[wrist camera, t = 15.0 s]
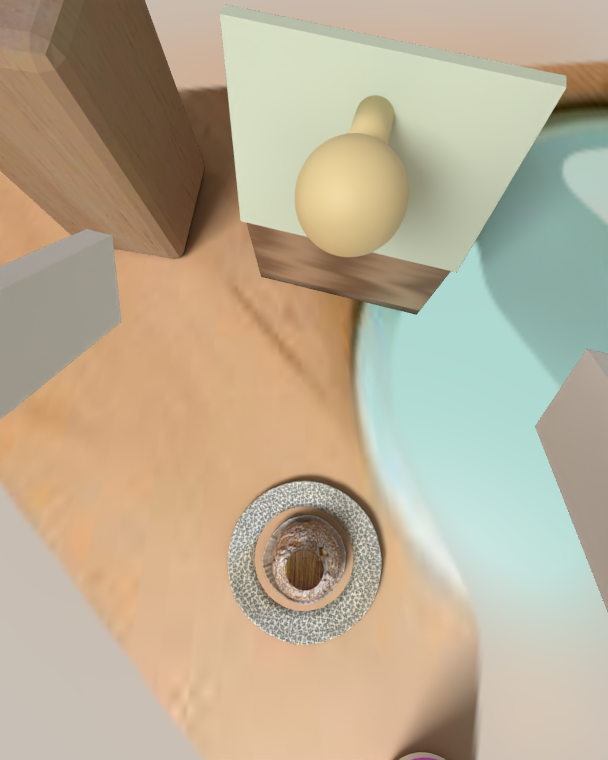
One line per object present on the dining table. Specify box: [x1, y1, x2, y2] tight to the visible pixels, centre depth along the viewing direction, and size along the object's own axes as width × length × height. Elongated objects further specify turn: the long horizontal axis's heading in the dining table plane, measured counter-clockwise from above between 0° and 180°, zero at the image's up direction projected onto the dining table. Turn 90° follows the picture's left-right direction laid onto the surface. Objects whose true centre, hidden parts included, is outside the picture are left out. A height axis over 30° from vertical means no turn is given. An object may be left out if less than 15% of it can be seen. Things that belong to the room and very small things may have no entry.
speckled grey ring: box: [227, 481, 382, 645], centre depth 31 cm, size 12×12×5 cm
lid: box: [220, 5, 567, 272], centre depth 20 cm, size 14×11×9 cm
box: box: [247, 223, 451, 314], centre depth 33 cm, size 14×11×9 cm
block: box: [0, 0, 204, 259], centre depth 28 cm, size 10×10×20 cm
